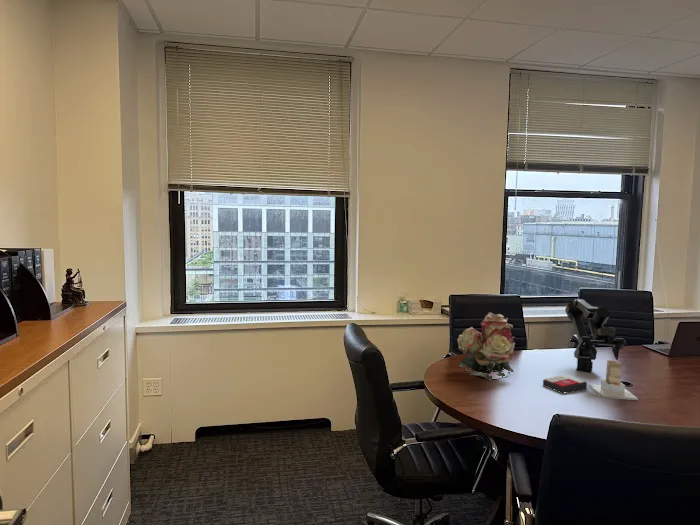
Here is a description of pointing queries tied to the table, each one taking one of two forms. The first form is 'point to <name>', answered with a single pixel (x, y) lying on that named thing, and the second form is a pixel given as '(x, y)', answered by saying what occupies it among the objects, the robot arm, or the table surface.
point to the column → (613, 372)
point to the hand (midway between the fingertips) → (606, 359)
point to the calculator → (565, 383)
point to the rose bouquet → (488, 346)
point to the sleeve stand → (612, 390)
